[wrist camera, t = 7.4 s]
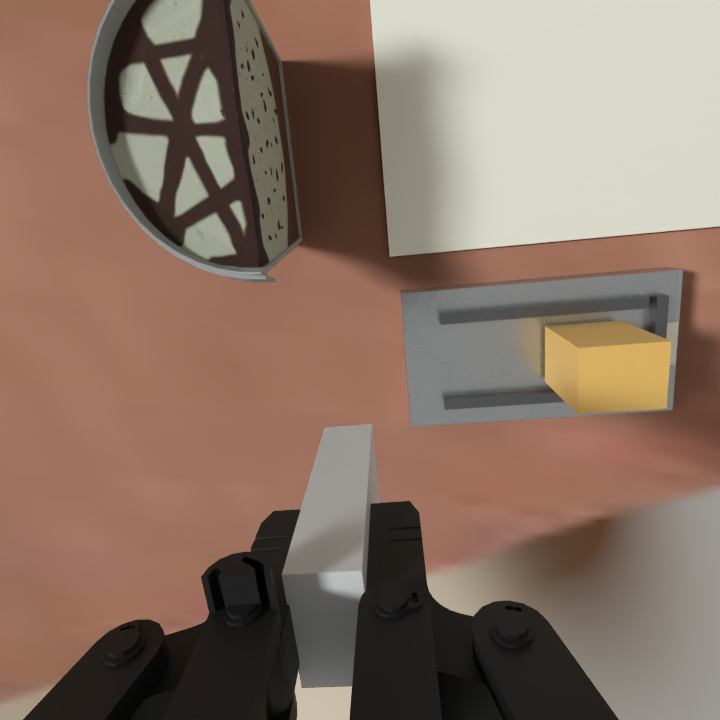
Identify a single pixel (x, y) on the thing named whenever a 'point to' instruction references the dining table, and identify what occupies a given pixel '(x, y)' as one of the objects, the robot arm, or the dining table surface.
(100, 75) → the food container
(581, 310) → the panel
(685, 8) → the mat
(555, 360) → the yellow block
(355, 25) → the dining table surface
